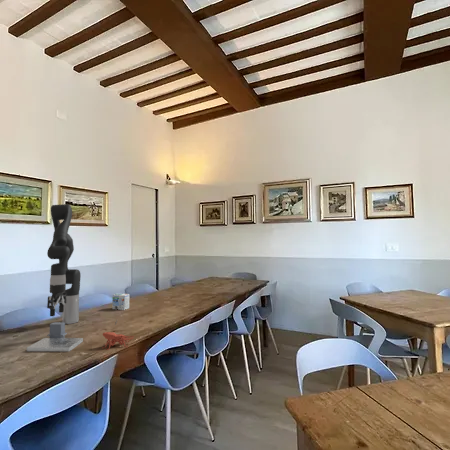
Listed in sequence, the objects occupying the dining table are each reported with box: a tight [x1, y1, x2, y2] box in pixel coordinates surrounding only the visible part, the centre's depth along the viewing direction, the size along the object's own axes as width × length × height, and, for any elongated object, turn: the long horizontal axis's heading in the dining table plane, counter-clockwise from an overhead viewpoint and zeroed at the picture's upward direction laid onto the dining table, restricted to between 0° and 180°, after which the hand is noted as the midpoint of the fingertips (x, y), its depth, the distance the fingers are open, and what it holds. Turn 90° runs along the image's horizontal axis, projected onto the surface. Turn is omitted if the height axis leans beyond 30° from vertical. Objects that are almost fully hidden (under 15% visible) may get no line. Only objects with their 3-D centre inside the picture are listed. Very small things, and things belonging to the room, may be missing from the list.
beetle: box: [101, 320, 135, 351], centre depth 156 cm, size 15×12×13 cm
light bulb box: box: [111, 293, 130, 311], centre depth 236 cm, size 11×7×11 cm, turn 76°
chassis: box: [26, 337, 84, 353], centre depth 154 cm, size 14×20×2 cm
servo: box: [47, 321, 68, 338], centre depth 166 cm, size 4×8×8 cm, turn 90°
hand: (56, 314), depth 166 cm, fingers open, 8 cm apart
